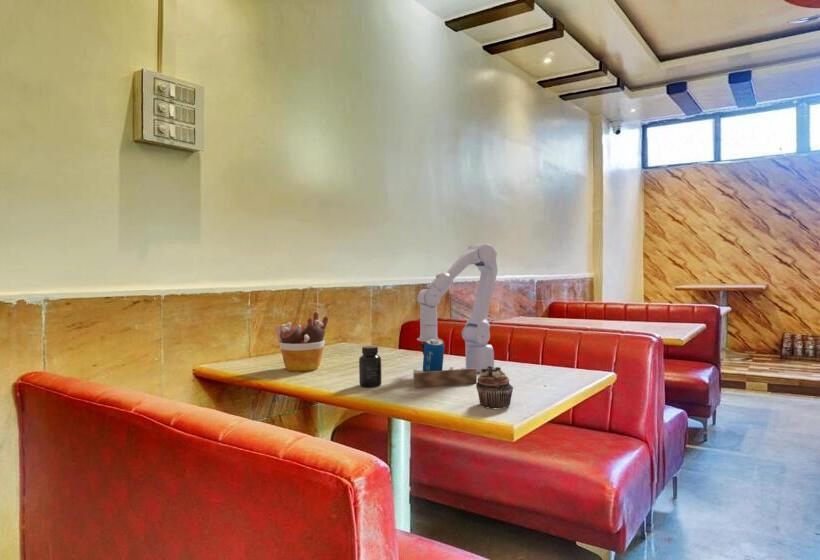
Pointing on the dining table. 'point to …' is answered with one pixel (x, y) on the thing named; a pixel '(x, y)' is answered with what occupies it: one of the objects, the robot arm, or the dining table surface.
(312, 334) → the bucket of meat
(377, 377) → the supplement bottle
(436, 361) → the beverage can
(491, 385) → the cupcake
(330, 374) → the dining table surface
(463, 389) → the dining table surface
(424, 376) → the caddy
